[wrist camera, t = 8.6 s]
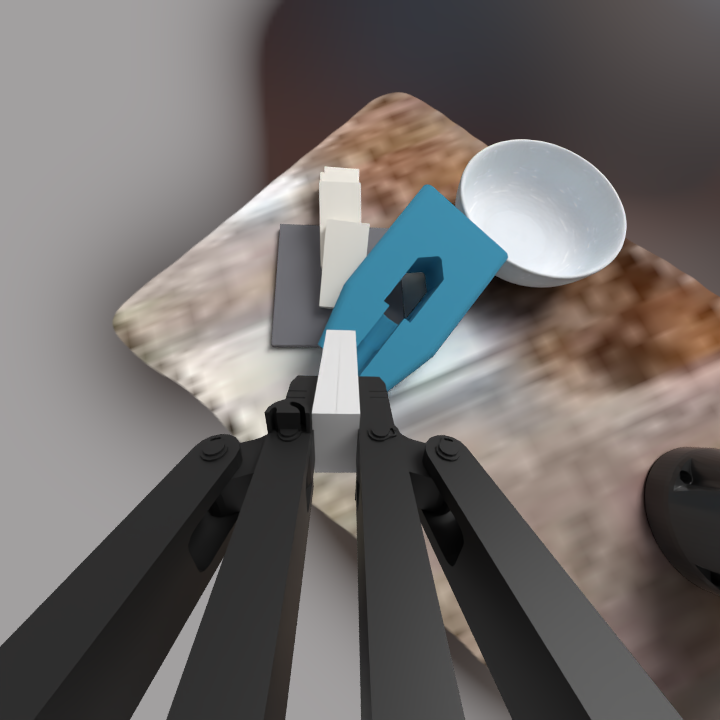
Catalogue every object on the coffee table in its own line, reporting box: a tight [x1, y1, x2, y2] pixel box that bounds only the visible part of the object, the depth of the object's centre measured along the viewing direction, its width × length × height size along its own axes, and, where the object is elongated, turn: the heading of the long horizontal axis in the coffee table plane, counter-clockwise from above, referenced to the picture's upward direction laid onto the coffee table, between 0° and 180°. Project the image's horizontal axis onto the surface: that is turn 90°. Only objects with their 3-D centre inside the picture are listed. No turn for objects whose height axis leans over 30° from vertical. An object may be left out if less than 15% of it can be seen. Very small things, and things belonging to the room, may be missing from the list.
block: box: [318, 185, 508, 392], centre depth 30 cm, size 12×5×20 cm
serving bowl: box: [455, 140, 626, 287], centre depth 36 cm, size 21×21×7 cm
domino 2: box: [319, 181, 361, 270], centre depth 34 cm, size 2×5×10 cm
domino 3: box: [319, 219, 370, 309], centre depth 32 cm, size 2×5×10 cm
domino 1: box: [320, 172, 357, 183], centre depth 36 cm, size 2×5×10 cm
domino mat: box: [271, 224, 404, 347], centre depth 35 cm, size 17×16×1 cm
